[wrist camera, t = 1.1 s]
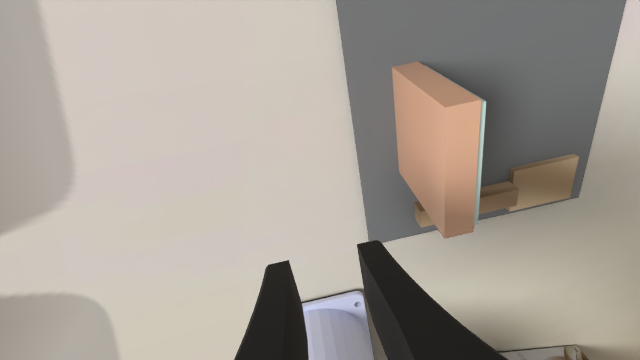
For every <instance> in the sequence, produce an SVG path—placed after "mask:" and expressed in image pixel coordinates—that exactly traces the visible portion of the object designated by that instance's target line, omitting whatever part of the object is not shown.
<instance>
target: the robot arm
mask: <svg viewBox="0 0 640 360" xmlns="http://www.w3.org/2000/svg"><path fill="white" fill-rule="evenodd" d="M357 248H358V254H359V260H360V267H361V273H362V279H363V285H364V291H365V295H366V299H367V302H368V306H369V309H370V312H371V316H372V319H373V323H374V326H375V328H376V331H377V333H378V336H379V338H380V341H381V343H382V346H383V348H384V351H385V353H386V356H387V358H388V360H508V359H507V358H505V357H504V356H503V355H501V354H500V353H499V352H497V351H496V350H494V349H493V348H492V347H490V346H489V345H488V344H486V343H485V342H484V341H482V340H481V339H480V338H478V337H477V336H476V335H475V334H473V333H472V332H471V331H469V330H468V329H467V328H466V327H464V326H463V325H462V324H461V323H460V322H458V321H457V320H456V319H455V318H454V317H452V316H451V315H450V314H449V313H448V312H447V311H446V310H444V309H443V308H442V307H441V306H440V305H439V304H438V303H437V302H436V301H434V300H433V299H432V298H431V297H430V296H429V295H428V294H427V293H426V292H425V291H424V290H423V289H422V288H421V287H420V286H419V285H418V284H417V283H416V282H415V281H414V280H413V279H412V278H411V277H410V276H409V275H408V274H407V273H406V272H405V271H404V269H403V268H402V267H401V266H400V265H399V264H398V263H397V262H396V260H395V259H394V258H393V257H392V256H391V255H390V253H389V252H388V251H387V250H386V248H385V247H384V246H383V244H382V243H381V242H380V241H378V240H374V241H370V242H365V243H361V244H357ZM356 302H357V303H356ZM234 360H374V357H373V351H372V345H371V339H370V333H369V326H368V320H367V314H366V308H365V302H364V297H363V294H362V292H360V291H353V292H349V293H345V294H340V295H336V296H332V297H328V298H323V299H319V300H315V301H311V302H306V303H301V300H300V296H299V293H298V290H297V286H296V283H295V280H294V276H293V273H292V270H291V266H290V263H289V260H287V261H283V262H279V263H274V264H270V265H268V266H267V267H266V269H265V274H264V278H263V282H262V286H261V289H260V292H259V296H258V299H257V302H256V305H255V308H254V311H253V314H252V316H251V319H250V322H249V325H248V327H247V330H246V333H245V335H244V338H243V340H242V342H241V345H240V347H239V349H238V352H237V354H236V357H235V359H234Z"/></svg>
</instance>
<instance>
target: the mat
mask: <svg viewBox="0 0 640 360" xmlns="http://www.w3.org/2000/svg"><path fill="white" fill-rule="evenodd" d="M625 3H626V0H336V4H337V11H338V18H339V26H340V33H341V40H342V48H343V55H344V62H345V70H346V77H347V84H348V91H349V99H350V106H351V113H352V121H353V128H354V135H355V143H356V150H357V157H358V165H359V172H360V179H361V186H362V194H363V201H364V208H365V216H366V223H367V230H368V238H369V242H370V241H374V240H378V241H380V242H381V243H383V242H387V241H391V240H396V239H400V238H404V237H409V236H413V235H417V234H422V233H426V232H430V231H435V230H438V228H437V227H436V226H435V225H430V226H426V227H422V228H421V227H420V225H419V224H418V222H417V220H416V219H415V208H414V202H418V201H419V200H418V199H417V197H416V196H415V194H414V193H413V192H412V190H411V189H410V187H409V186H408V184H407V183H406V181H405V180H404V178H403V177H402V175H401V174H400V172H399V163H398V149H397V134H396V120H395V106H394V92H393V77H392V67H394V66H399V65H404V64H408V63H413V62H417V61H418V62H419V63H421V64H423V65H426V66H427V67H429V68H431V69H432V70H434V71H436V72H437V73H439V74H441V75H443V76H444V77H446V78H448V79H449V80H451V81H453V82H454V83H456V84H458V85H459V86H461V87H463V88H464V89H466V90H468V91H470V92H471V93H473V94H475V95H476V96H478V97H480V98H481V99H483V100H485V101H486V113H485V128H484V142H483V157H482V172H481V186H480V187H484V186H488V185H493V184H497V183H501V182H506V181H509V176H510V168H514V167H518V166H522V165H527V164H531V163H536V162H540V161H544V160H549V159H553V158H558V157H562V156H566V155H571V154H575V155H577V156H579V159H578V164H577V168H576V172H575V177H574V181H573V186H572V190H571V194H570V198H566V199H562V200H558V201H553V202H549V203H545V204H540V205H536V206H532V207H528V208H523V209H519V210H515V211H510V212H509V211H508V210H507V209H506V208H504V209H500V210H495V211H491V212H487V213H482V214H479V215H478V220H482V219H487V218H491V217H495V216H500V215H504V214H508V213H513V212H517V211H521V210H526V209H530V208H534V207H539V206H543V205H547V204H552V203H556V202H560V201H565V200H569V199H573V198H577V197H579V193H580V189H581V185H582V181H583V177H584V173H585V168H586V164H587V160H588V156H589V152H590V148H591V144H592V139H593V135H594V131H595V127H596V123H597V119H598V115H599V111H600V106H601V102H602V98H603V94H604V90H605V86H606V82H607V78H608V73H609V69H610V65H611V61H612V57H613V53H614V49H615V45H616V40H617V36H618V32H619V28H620V24H621V20H622V16H623V11H624V7H625Z"/></svg>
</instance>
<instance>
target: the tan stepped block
mask: <svg viewBox="0 0 640 360" xmlns="http://www.w3.org/2000/svg"><path fill="white" fill-rule="evenodd" d="M578 159H579V156H577V155H575V154H571V155H566V156H562V157H558V158H553V159H549V160H544V161H540V162H536V163H531V164H527V165H522V166H518V167H514V168H510V176H509V181H506V182H501V183H497V184H493V185H488V186H484V187H480V201H479V214H482V213H487V212H491V211H495V210H500V209H504V208H506V209H507V210H508V211H509V212H510V211H515V210H519V209H523V208H528V207H532V206H536V205H540V204H545V203H549V202H553V201H558V200H562V199H566V198H570V194H571V190H572V186H573V181H574V177H575V172H576V168H577V164H578ZM414 208H415V219H416V220H417V222H418V224H419V225H420V227H421V228H422V227H426V226H430V225H435V224H434V223H433V221H432V220H431V218H430V217H429V215H428V214H427V212H426V211H425V209H424V208H423V206H422V205H421V203H420V202H419V201H418V202H414Z"/></svg>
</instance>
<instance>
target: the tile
mask: <svg viewBox="0 0 640 360" xmlns="http://www.w3.org/2000/svg"><path fill="white" fill-rule="evenodd" d="M392 77H393V92H394V106H395V120H396V134H397V149H398V163H399V172H400V174H401V175H402V177H403V178H404V180H405V181H406V183H407V184H408V186H409V187H410V189H411V190H412V192H413V193H414V194H415V196H416V197H417V199H418V200H419V202H420V203H421V205H422V206H423V208H424V209H425V211H426V212H427V214H428V215H429V217H430V218H431V220H432V221H433V223H434V224H435V226H436V227H437V228H438V230H439V231H440V233H441V234H442V236H443V237H444V239H445V238H449V237H453V236H458V235H462V234H466V233H471V232H473V229H474V225H475V224H478V215H479V201H480V186H481V172H482V157H483V142H484V128H485V113H486V101H485V100H483V99H481V98H480V97H478V96H476V95H475V94H473V93H471V92H470V91H468V90H466V89H464V88H463V87H461V86H459V85H458V84H456V83H454V82H453V81H451V80H449V79H448V78H446V77H444V76H443V75H441V74H439V73H437V72H436V71H434V70H432V69H431V68H429V67H427V66H426V65H423V64H421V63H419V62H418V61H417V62H413V63H408V64H404V65H399V66H394V67H392Z"/></svg>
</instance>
